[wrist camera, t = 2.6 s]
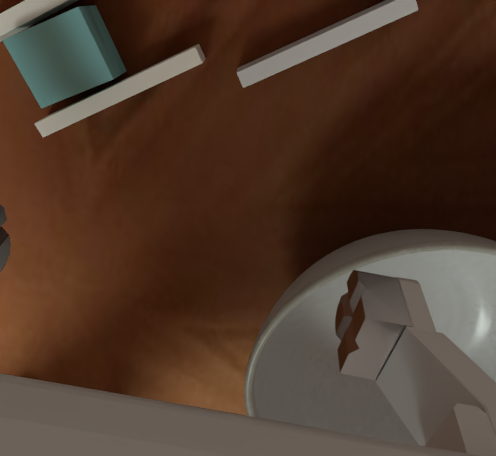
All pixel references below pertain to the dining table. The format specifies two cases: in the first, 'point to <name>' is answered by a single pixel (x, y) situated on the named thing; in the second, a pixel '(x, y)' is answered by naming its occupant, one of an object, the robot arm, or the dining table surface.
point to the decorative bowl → (326, 341)
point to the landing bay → (325, 40)
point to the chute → (47, 3)
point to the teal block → (66, 55)
